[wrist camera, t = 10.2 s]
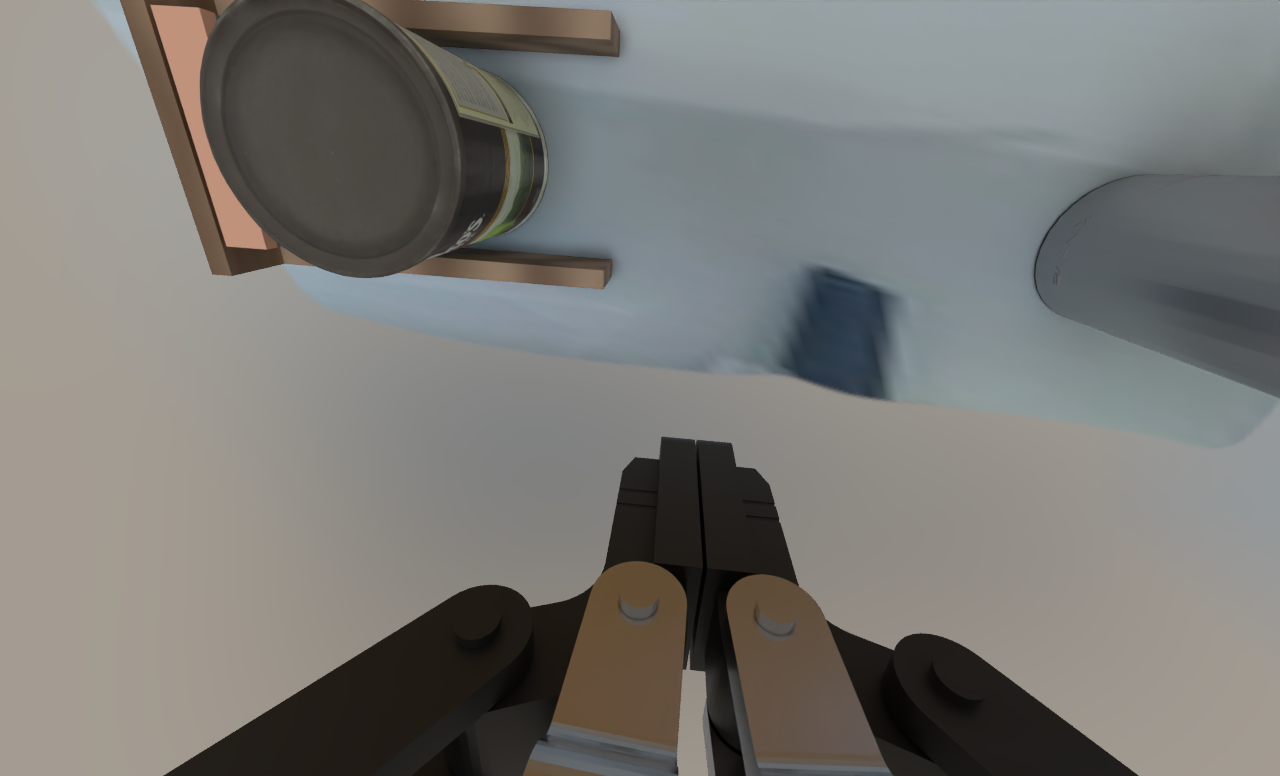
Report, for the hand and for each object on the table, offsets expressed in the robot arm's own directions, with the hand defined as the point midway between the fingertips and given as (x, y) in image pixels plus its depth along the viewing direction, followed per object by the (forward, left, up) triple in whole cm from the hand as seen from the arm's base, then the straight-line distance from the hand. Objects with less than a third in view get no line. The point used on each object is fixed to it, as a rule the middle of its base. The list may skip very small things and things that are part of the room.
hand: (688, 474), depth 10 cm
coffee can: (+14, -6, -25) cm, 30 cm away
